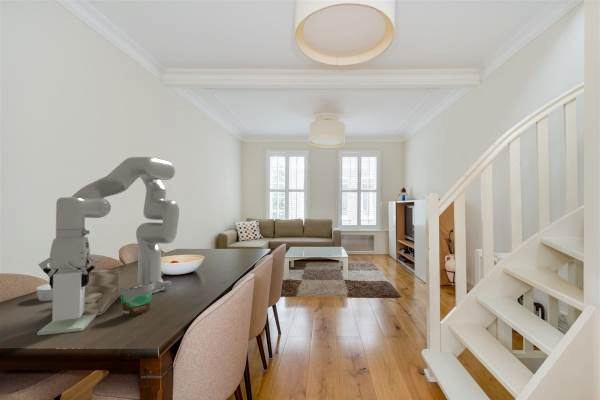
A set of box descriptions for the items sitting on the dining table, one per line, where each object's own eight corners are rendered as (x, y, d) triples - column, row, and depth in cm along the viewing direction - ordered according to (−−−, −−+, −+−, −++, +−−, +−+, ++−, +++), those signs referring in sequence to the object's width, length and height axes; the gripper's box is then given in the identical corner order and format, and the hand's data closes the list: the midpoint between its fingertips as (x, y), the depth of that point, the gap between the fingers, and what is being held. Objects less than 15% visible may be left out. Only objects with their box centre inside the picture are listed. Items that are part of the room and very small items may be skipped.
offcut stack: (102, 307, 111) (102, 292, 112) (96, 314, 105) (96, 297, 105) (71, 310, 108) (72, 294, 109) (63, 317, 102) (63, 300, 102)
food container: (127, 319, 100) (127, 291, 100) (118, 316, 103) (118, 288, 103) (160, 308, 110) (160, 283, 110) (151, 305, 114) (151, 280, 114)
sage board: (95, 316, 102) (95, 313, 102) (81, 330, 91) (81, 327, 91) (56, 320, 99) (56, 317, 99) (37, 335, 88) (37, 332, 88)
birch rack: (118, 297, 123) (118, 269, 123) (101, 314, 104) (102, 281, 104) (78, 300, 118) (79, 271, 118) (54, 319, 100) (54, 284, 100)
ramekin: (50, 303, 115) (50, 290, 115) (28, 301, 117) (28, 288, 117) (76, 294, 126) (76, 282, 126) (56, 292, 128) (56, 281, 128)
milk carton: (52, 322, 90) (53, 262, 91) (58, 314, 97) (59, 258, 97) (79, 318, 94) (80, 260, 94) (84, 310, 100) (85, 256, 100)
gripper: (104, 232, 102) (103, 281, 101) (45, 233, 96) (44, 285, 96) (96, 234, 94) (95, 287, 94) (31, 236, 89) (30, 292, 89)
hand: (69, 286), depth 95 cm, fingers closed on milk carton, 7 cm apart
